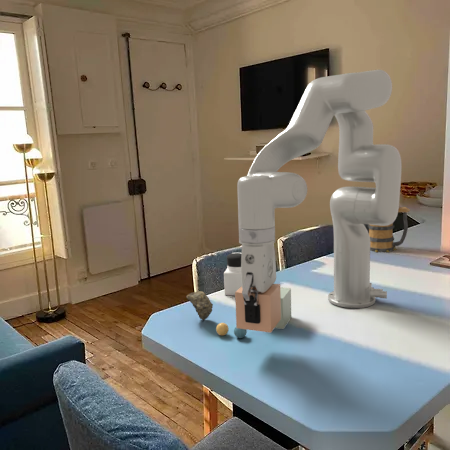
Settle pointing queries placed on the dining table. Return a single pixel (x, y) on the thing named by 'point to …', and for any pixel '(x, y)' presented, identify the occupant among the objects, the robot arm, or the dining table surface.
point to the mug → (386, 235)
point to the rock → (201, 304)
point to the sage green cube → (285, 307)
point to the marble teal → (240, 332)
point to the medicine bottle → (233, 274)
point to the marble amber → (222, 329)
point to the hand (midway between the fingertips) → (259, 314)
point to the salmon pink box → (268, 309)
